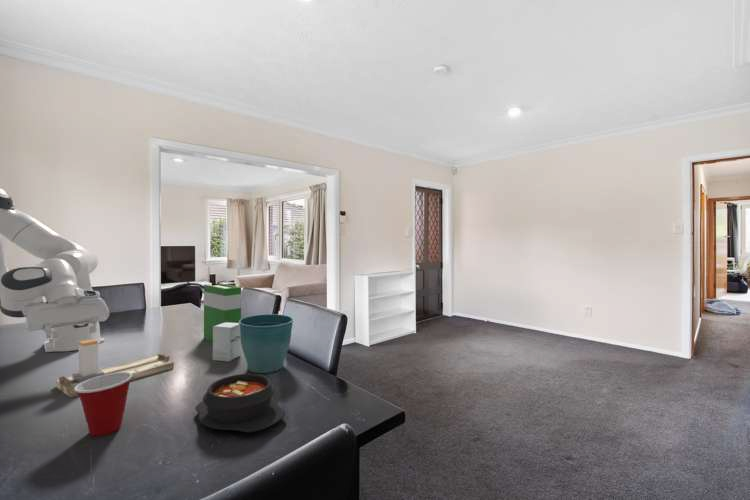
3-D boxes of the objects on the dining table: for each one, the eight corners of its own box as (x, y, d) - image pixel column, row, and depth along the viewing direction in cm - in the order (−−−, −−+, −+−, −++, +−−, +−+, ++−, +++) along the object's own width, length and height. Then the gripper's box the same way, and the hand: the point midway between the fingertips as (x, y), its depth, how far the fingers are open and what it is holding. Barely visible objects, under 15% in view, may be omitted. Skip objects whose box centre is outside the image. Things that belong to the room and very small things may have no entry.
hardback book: (203, 338, 157) (203, 284, 157) (219, 334, 163) (219, 283, 162) (224, 346, 146) (224, 288, 146) (240, 342, 152) (241, 287, 152)
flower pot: (302, 362, 129) (303, 316, 128) (272, 381, 112) (273, 328, 111) (261, 356, 135) (261, 312, 134) (226, 373, 118) (227, 322, 117)
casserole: (302, 415, 91) (302, 383, 90) (240, 452, 75) (240, 413, 75) (239, 392, 104) (239, 363, 104) (175, 418, 88) (175, 385, 88)
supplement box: (230, 361, 128) (230, 327, 128) (211, 360, 130) (212, 326, 129) (241, 355, 135) (241, 322, 135) (224, 353, 137) (224, 321, 137)
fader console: (56, 386, 105) (55, 374, 105) (156, 360, 128) (156, 351, 128) (70, 397, 98) (69, 384, 98) (173, 368, 121) (173, 357, 121)
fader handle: (72, 378, 105) (71, 341, 105) (96, 372, 110) (96, 337, 110) (79, 382, 102) (79, 345, 102) (104, 376, 107) (104, 340, 107)
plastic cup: (96, 418, 87) (96, 370, 87) (142, 417, 88) (142, 370, 88) (61, 444, 76) (60, 389, 76) (114, 442, 77) (113, 388, 77)
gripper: (22, 298, 105) (31, 336, 100) (104, 291, 122) (115, 323, 117) (18, 311, 108) (27, 348, 103) (99, 302, 125) (110, 334, 119)
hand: (75, 335), depth 110 cm, fingers open, 8 cm apart
